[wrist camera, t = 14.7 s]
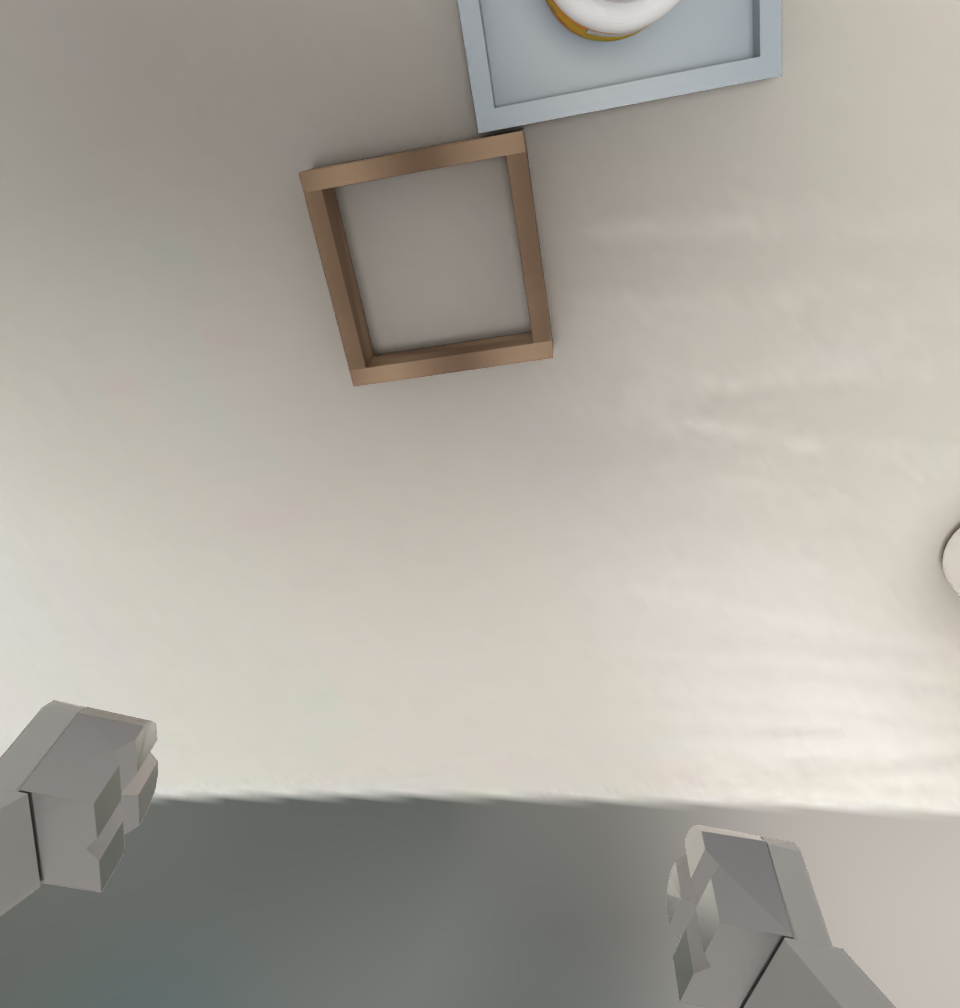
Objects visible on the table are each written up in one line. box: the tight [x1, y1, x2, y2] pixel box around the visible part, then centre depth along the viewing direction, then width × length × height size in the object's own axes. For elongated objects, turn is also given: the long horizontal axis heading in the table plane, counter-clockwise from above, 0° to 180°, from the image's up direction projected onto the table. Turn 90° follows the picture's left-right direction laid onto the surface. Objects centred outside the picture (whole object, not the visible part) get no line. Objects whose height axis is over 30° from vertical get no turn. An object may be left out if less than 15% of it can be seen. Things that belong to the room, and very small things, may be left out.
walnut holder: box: [299, 129, 553, 386], centre depth 36 cm, size 10×10×2 cm
